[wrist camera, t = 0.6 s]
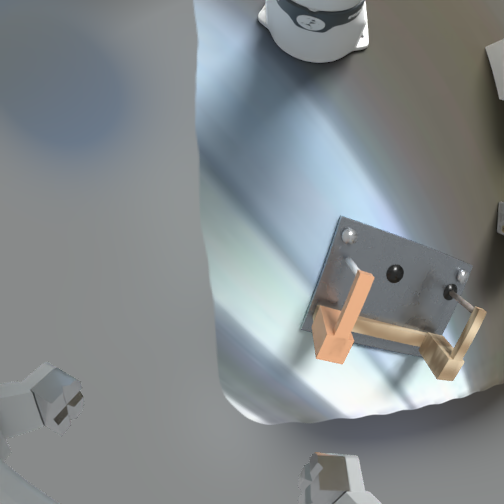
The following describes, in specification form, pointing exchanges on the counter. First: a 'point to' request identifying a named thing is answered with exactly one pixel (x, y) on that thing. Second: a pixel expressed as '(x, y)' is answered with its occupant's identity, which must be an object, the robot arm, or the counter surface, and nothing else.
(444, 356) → the fixed leg
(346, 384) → the counter surface
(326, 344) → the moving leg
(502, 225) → the coffee box
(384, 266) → the hole plate
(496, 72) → the milk
